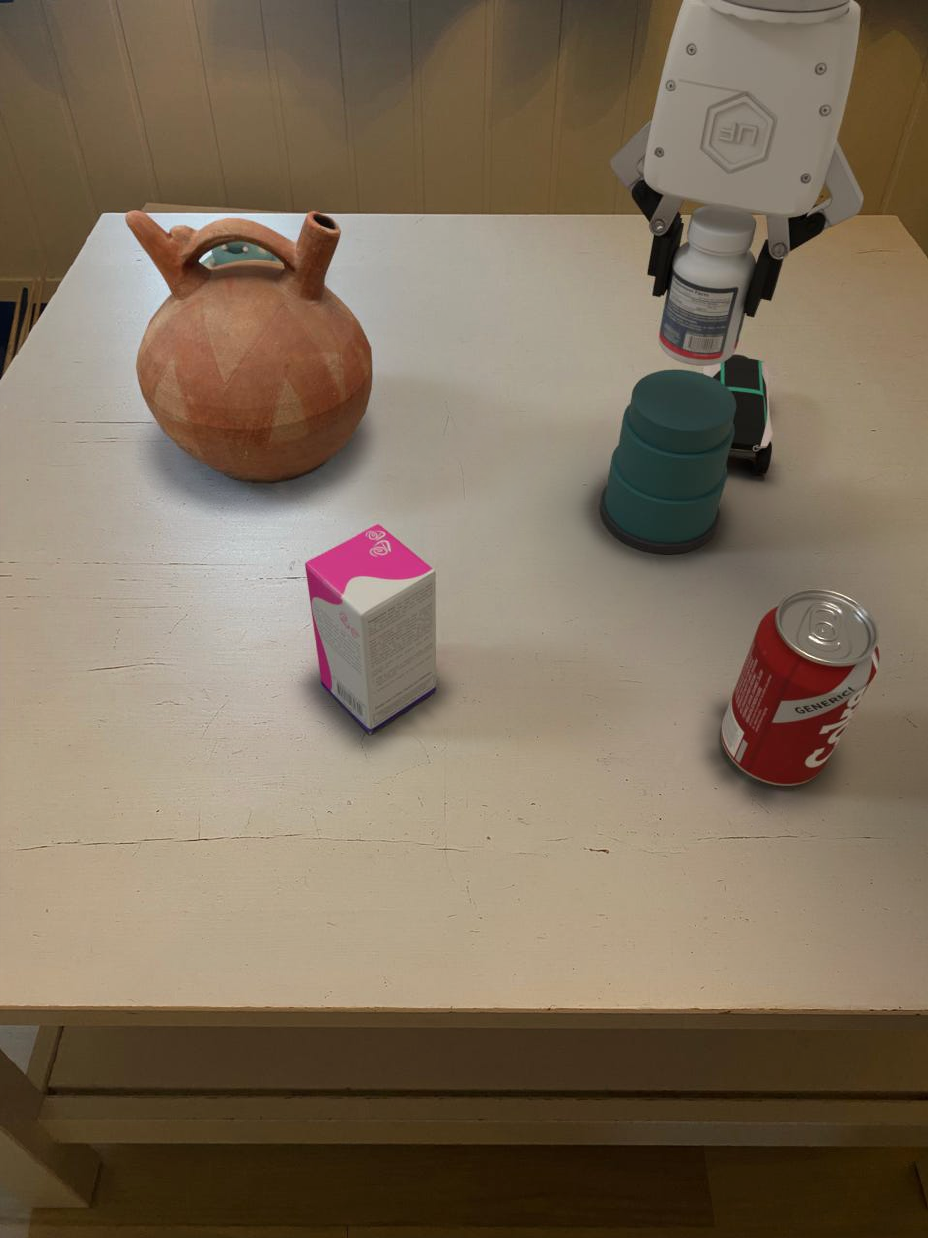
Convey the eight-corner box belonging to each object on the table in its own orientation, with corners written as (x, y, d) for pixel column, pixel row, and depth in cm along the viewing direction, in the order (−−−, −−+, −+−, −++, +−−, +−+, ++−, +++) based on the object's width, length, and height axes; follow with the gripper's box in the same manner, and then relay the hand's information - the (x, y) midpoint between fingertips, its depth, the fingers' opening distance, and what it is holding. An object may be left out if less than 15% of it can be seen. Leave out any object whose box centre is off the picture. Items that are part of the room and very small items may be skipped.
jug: (135, 510, 75) (58, 275, 60) (186, 378, 87) (132, 155, 72) (367, 517, 75) (347, 283, 60) (386, 384, 87) (373, 161, 72)
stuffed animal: (155, 273, 89) (193, 193, 95) (176, 332, 95) (210, 253, 101) (266, 283, 88) (296, 202, 94) (280, 342, 94) (308, 262, 100)
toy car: (760, 397, 86) (775, 346, 82) (764, 481, 78) (781, 429, 74) (694, 390, 87) (707, 339, 83) (693, 473, 79) (706, 421, 75)
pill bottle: (692, 317, 67) (719, 191, 60) (751, 348, 64) (786, 221, 57) (641, 343, 64) (663, 215, 58) (700, 377, 62) (730, 247, 55)
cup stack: (728, 493, 77) (762, 378, 69) (702, 568, 72) (736, 452, 63) (618, 464, 80) (638, 349, 72) (584, 534, 74) (601, 419, 66)
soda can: (711, 775, 59) (759, 655, 50) (724, 693, 64) (770, 569, 55) (822, 804, 58) (890, 685, 49) (827, 718, 62) (891, 595, 53)
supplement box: (439, 689, 64) (439, 570, 55) (369, 737, 61) (357, 619, 52) (386, 640, 66) (378, 519, 58) (317, 683, 64) (298, 563, 55)
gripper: (597, -34, 48) (564, 296, 61) (953, 13, 44) (832, 356, 57) (637, -69, 52) (598, 245, 66) (962, -30, 48) (848, 296, 62)
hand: (707, 293), depth 61 cm, fingers closed on pill bottle, 5 cm apart
